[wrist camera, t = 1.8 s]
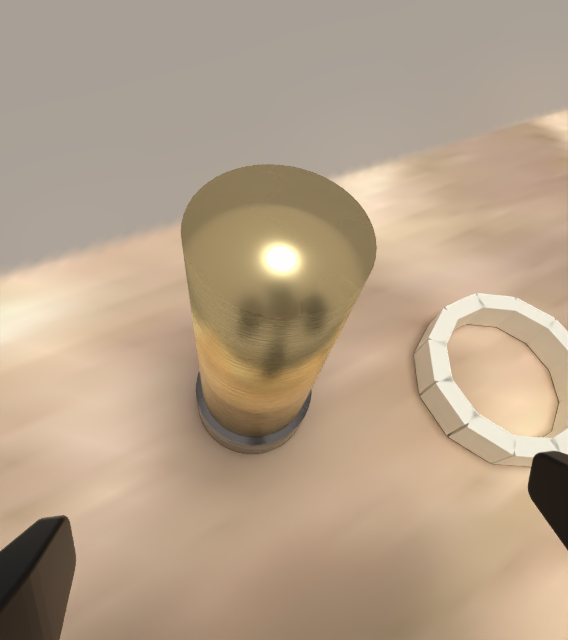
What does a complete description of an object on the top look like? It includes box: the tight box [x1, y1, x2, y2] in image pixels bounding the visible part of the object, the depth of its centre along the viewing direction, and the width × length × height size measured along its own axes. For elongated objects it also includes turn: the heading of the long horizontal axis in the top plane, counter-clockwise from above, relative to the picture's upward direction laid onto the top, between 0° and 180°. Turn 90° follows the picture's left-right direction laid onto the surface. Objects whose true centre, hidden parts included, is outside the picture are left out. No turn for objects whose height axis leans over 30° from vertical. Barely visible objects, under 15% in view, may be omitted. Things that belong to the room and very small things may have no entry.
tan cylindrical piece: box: [181, 164, 376, 454], centre depth 16 cm, size 6×6×13 cm
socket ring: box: [414, 293, 568, 467], centre depth 23 cm, size 10×10×2 cm
